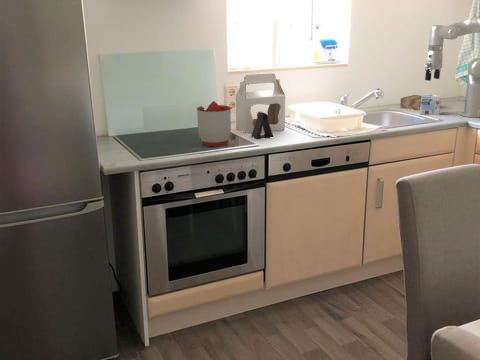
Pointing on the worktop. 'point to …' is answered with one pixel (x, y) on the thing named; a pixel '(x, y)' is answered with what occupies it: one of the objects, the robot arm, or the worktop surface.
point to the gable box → (260, 97)
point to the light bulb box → (430, 104)
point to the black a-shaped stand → (262, 122)
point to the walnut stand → (411, 102)
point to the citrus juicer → (214, 124)
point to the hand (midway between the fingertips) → (432, 79)
